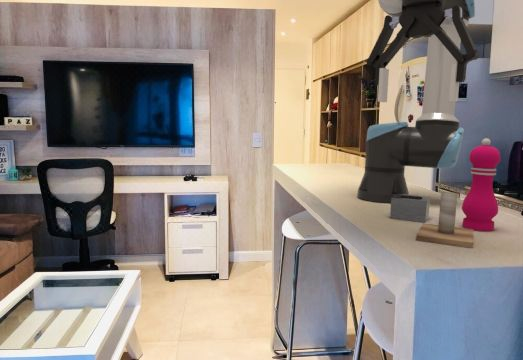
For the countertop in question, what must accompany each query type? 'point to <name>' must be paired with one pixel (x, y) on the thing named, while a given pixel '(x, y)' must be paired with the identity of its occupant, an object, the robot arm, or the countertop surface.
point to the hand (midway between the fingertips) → (415, 101)
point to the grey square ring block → (410, 207)
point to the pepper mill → (481, 189)
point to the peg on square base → (446, 226)
